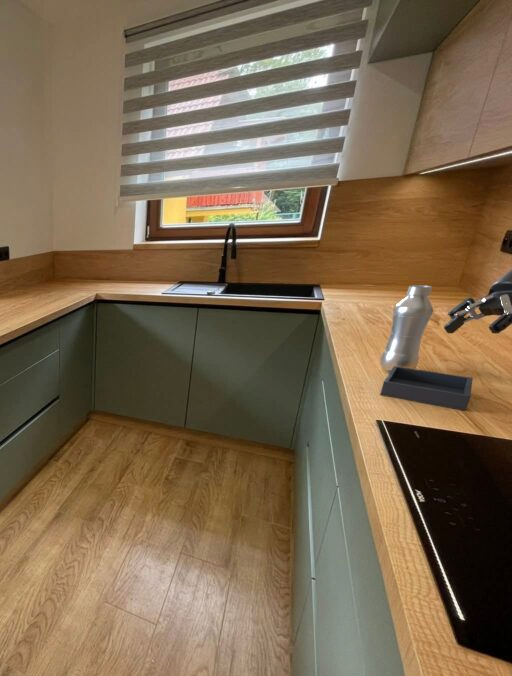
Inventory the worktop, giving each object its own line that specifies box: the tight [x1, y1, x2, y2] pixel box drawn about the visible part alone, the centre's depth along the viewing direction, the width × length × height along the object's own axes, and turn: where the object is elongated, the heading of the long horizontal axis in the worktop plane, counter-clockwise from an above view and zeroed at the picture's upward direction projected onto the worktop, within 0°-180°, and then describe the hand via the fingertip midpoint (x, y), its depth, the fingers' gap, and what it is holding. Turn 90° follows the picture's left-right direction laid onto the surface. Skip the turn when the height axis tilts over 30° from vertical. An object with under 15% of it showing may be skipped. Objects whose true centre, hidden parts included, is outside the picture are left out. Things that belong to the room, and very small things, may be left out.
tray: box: [379, 366, 474, 412], centre depth 89 cm, size 13×12×3 cm
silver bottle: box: [379, 284, 434, 372], centre depth 98 cm, size 6×7×20 cm
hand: (468, 330), depth 93 cm, fingers open, 8 cm apart
